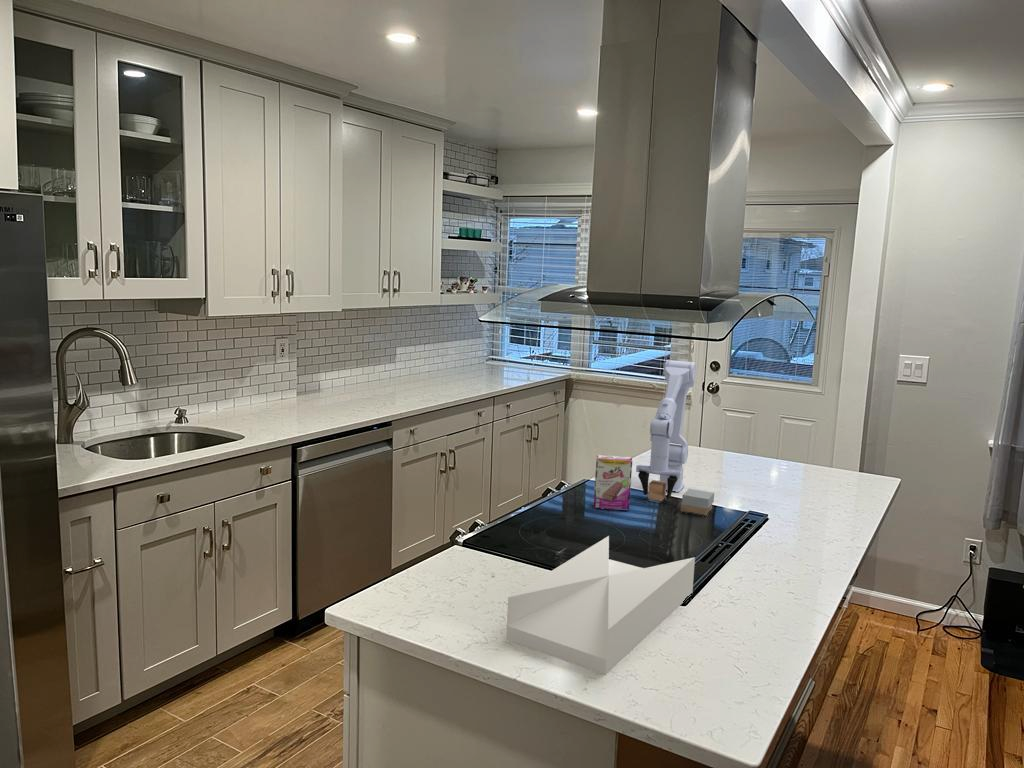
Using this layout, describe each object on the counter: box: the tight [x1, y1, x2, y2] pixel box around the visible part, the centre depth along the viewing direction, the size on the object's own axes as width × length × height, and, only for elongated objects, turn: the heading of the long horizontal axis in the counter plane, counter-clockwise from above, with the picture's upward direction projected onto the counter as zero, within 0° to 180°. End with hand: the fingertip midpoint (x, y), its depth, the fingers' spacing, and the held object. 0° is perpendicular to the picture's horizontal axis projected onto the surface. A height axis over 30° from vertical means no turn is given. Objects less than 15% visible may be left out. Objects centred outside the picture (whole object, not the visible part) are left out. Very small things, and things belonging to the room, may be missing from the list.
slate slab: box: [681, 488, 715, 509], centre depth 242 cm, size 8×8×3 cm
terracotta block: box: [647, 479, 667, 501], centre depth 252 cm, size 4×4×6 cm
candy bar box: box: [593, 454, 633, 511], centre depth 241 cm, size 11×5×16 cm, turn 84°
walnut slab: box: [680, 503, 713, 516], centre depth 243 cm, size 8×8×3 cm
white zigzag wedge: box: [505, 535, 696, 676], centre depth 167 cm, size 45×22×10 cm, turn 147°
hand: (656, 496), depth 252 cm, fingers open, 7 cm apart
